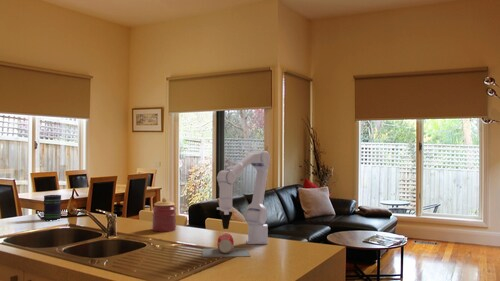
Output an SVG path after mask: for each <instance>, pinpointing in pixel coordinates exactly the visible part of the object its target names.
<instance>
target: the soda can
mask: <svg viewBox="0 0 500 281" xmlns="http://www.w3.org/2000/svg"><path fill="white" fill-rule="evenodd" d="M234 241H235V240H234V237H233V236H232V235H231V233H229V232H223V233H221V234H220V235H219V236H218V238H217V243H216V244H217V246H216V247H217V248H218V249H219V250H220V251H221V252H223V253H228V252H230V251H231V250H232V249H233V248H234V245H235V242H234Z"/></svg>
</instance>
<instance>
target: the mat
mask: <svg viewBox="0 0 500 281" xmlns="http://www.w3.org/2000/svg"><path fill="white" fill-rule="evenodd" d="M201 252H202V253H201V258H247V257H248V258H249V257H251V253H250V251H249V249H248V247H237V248H236V247H233V249H232V250H231V251H230V252H228V253H223V252H221V251H220V250H219V249H218V247H217V248H216V247H215V248H202V251H201Z"/></svg>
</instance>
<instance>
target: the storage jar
mask: <svg viewBox="0 0 500 281" xmlns="http://www.w3.org/2000/svg"><path fill="white" fill-rule="evenodd" d="M61 205H62V195H61V194H45V195H44V196H43V208H44V209H43V221H44V220H57V219H60V218H61V216H62V210H61V208H62V207H61Z"/></svg>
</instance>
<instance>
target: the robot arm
mask: <svg viewBox="0 0 500 281" xmlns="http://www.w3.org/2000/svg"><path fill="white" fill-rule="evenodd" d="M270 163H271V155H270V153H269V152H268V151H267V150H250V151H248V152H247V153H246V155H245V156H244V157H243V158H242V159H241V160H240V161H233V162H232V163H231V165H230V166H227V167H226V168H225V169H224V170H223V169H221V170H220V171H219V172H218V173H217V176H216V181H217V183H218V187H219V201H218V202H219V207H216V210H217V211H218V210H219V213H218V214H219V216H220V218H221V225H222V229H223V230H229V227H230V221H231V218H232V216H233V210H234V208H233V192H234V191H233V184H234V183H235V182H236V179H237V178H238V177H239V176H240V175H241V174H243V172H244V169H245V168H247V167H248V166H252V168H253V169H255V171H256V173H255V174H256V176H255V182H254V189H253V193H252V199H251V203H249V204H248V205H247V207H246V211H245V212H244V219H245V222H246V224H247V235H248V236H247V239H246V242H247V244H248V245H268V244H269V242H268V241H269V236H268V235H269V234H268V233H269V229H268V223H266V222H267V219H268V215H267V214H268V213H267V212H268V209H267V207H266V206H265V205H264V204H263V203H264V199H265V193H266V192H265V191H266V185H267V178H268V174H269V173H268V172H269V169H270Z"/></svg>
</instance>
